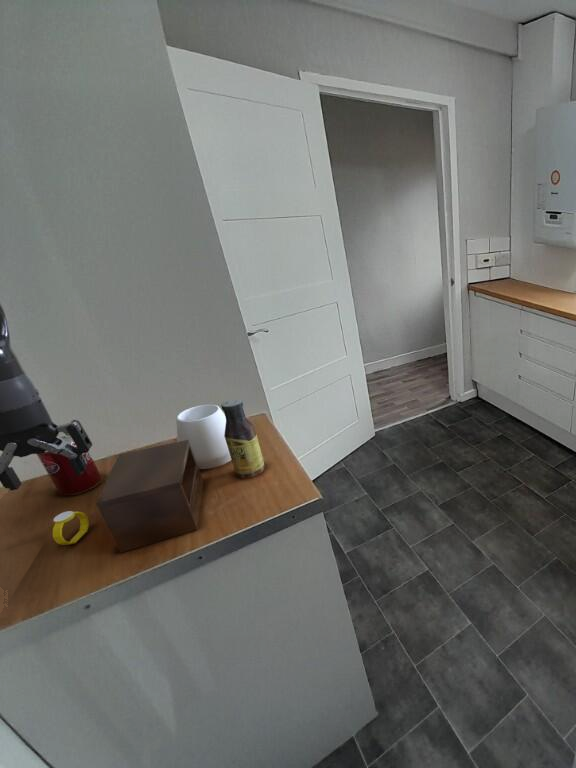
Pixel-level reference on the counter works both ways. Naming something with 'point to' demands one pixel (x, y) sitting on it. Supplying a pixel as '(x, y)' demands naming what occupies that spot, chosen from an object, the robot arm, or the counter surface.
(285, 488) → the counter surface
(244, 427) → the sauce bottle
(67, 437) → the soda can
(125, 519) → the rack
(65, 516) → the watch
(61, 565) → the counter surface
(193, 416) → the cup
